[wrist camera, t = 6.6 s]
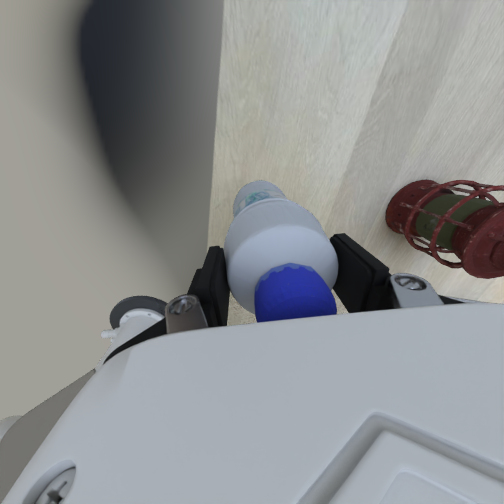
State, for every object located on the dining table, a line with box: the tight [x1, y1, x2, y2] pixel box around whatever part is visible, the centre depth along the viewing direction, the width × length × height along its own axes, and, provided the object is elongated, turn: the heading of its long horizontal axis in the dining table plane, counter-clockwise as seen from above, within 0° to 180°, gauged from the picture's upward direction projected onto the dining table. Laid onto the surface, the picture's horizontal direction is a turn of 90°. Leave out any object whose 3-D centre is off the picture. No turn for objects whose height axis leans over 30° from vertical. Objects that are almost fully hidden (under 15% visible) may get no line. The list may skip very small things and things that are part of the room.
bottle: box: [224, 180, 338, 323], centre depth 16 cm, size 7×7×20 cm
